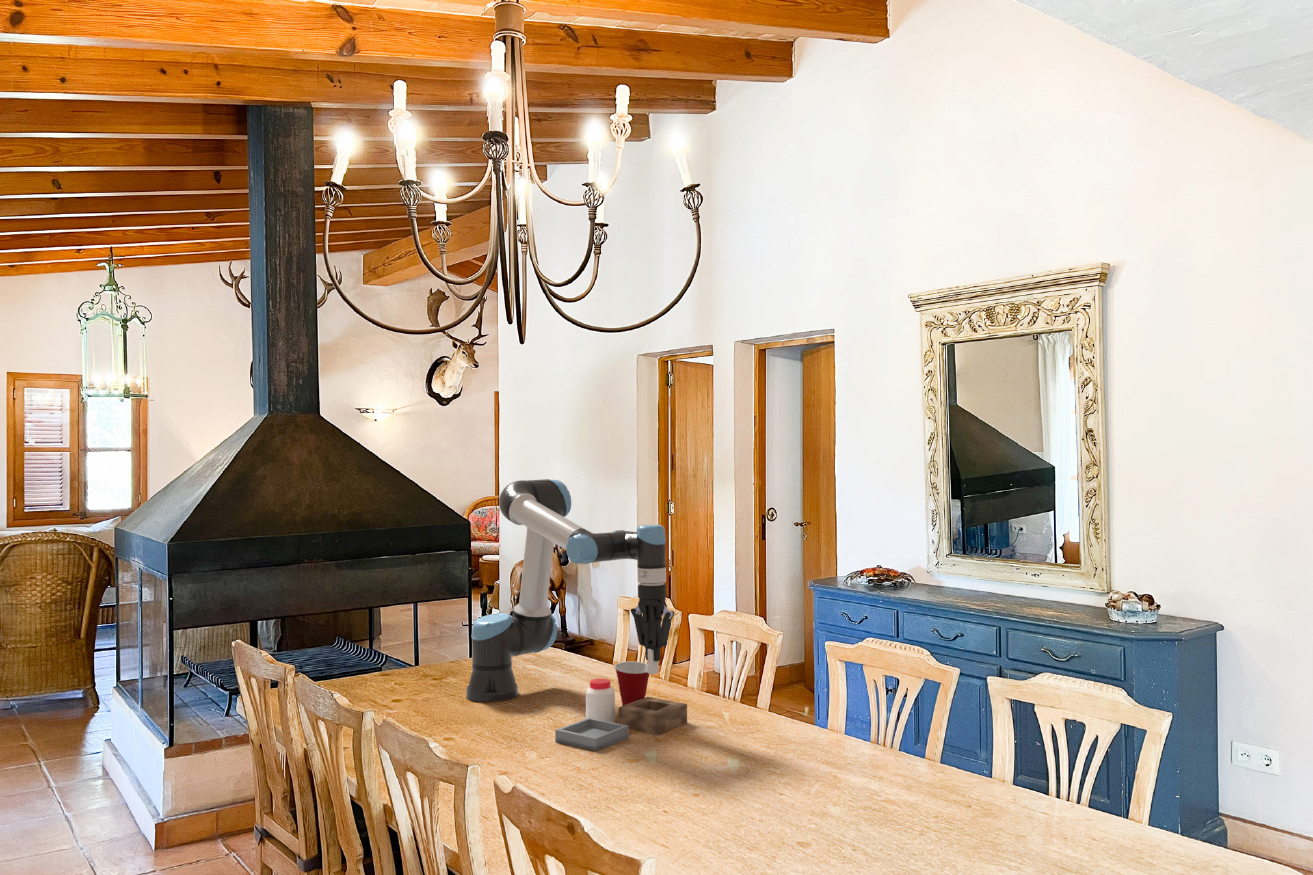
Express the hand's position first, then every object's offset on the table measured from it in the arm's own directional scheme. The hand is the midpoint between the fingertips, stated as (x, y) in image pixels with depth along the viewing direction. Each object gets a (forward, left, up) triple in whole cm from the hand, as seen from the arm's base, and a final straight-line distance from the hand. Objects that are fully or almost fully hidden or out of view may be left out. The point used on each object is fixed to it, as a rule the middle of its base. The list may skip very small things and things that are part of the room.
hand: (653, 672), depth 244 cm
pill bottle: (-13, -6, -14) cm, 20 cm away
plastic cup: (-14, +10, -14) cm, 22 cm away
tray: (-5, -19, -14) cm, 24 cm away
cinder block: (0, 0, -14) cm, 14 cm away
